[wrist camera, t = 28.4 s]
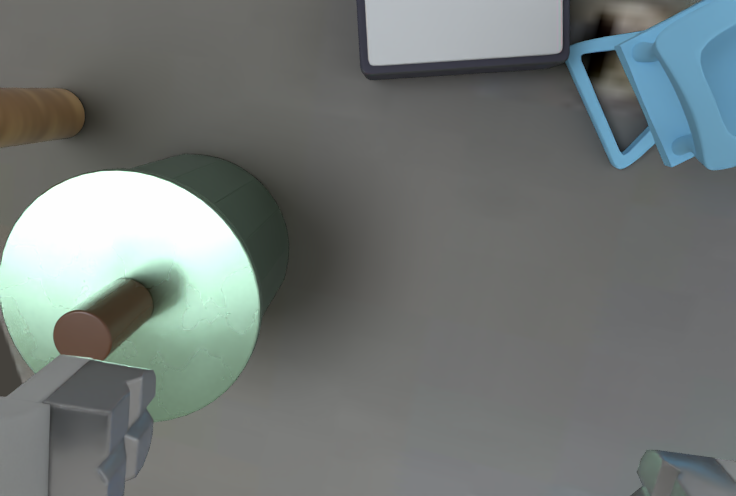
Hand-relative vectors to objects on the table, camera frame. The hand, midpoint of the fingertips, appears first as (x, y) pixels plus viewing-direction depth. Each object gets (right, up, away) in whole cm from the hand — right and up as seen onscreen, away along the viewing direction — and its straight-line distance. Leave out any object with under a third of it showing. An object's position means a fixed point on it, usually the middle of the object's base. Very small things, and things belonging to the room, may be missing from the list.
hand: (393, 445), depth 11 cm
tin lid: (-12, +1, +20) cm, 23 cm away
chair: (+16, +13, +26) cm, 34 cm away
